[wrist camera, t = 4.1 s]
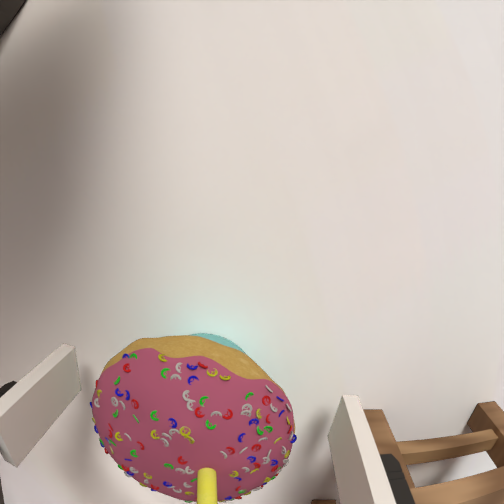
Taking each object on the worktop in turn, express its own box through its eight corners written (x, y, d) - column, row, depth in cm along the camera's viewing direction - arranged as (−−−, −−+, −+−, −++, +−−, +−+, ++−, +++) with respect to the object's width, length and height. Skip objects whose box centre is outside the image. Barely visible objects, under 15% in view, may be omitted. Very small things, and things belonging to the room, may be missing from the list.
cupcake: (279, 288, 15) (298, 544, 3) (297, 426, 16) (310, 619, 5) (112, 307, 15) (-53, 457, 4) (156, 431, 17) (88, 590, 5)
